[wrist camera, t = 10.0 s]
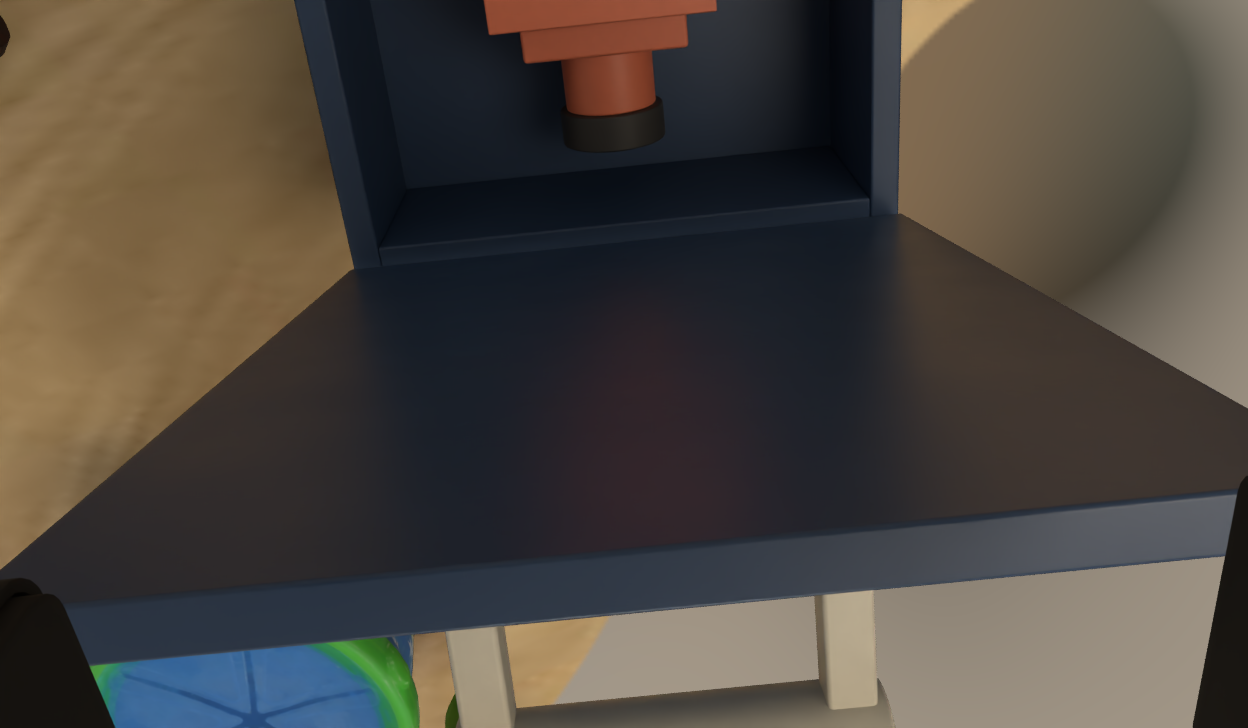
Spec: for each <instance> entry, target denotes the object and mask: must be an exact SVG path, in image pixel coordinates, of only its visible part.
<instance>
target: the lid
mask: <svg viewBox="0 0 1248 728" xmlns="http://www.w3.org/2000/svg"><path fill="white" fill-rule="evenodd" d="M1246 476H1248V408H1246V407H1244V406H1242V405H1240V404H1239V403H1236V402H1235V401H1233V400H1232V399H1230V398H1228V397H1226V396H1224V395H1223V394H1221V393H1219V392H1217V391H1215V390H1214V389H1212V388H1210V387H1208V386H1207V385H1205V384H1203V383H1201V382H1200V381H1198V380H1196V379H1194V378H1192V377H1191V376H1189V375H1187V374H1185V373H1184V372H1182V371H1180V370H1178V369H1176V368H1175V367H1173V366H1171V365H1169V364H1168V363H1166V362H1164V361H1162V360H1160V359H1158V358H1157V357H1155V356H1153V355H1151V354H1150V353H1148V352H1146V351H1144V350H1143V349H1140V348H1139V347H1137V346H1136V345H1134V344H1132V343H1130V342H1128V341H1127V340H1125V339H1123V338H1121V337H1120V336H1117V335H1116V334H1114V333H1112V332H1111V331H1109V330H1107V329H1105V328H1103V327H1102V326H1100V325H1098V324H1096V323H1094V322H1093V321H1091V320H1089V319H1088V318H1086V317H1084V316H1082V315H1080V314H1078V313H1077V312H1075V311H1073V310H1072V309H1069V308H1068V307H1066V306H1064V305H1063V304H1061V303H1059V302H1057V301H1056V300H1054V299H1052V298H1050V297H1048V296H1047V295H1045V294H1043V293H1041V292H1040V291H1038V290H1036V289H1034V288H1032V287H1031V286H1029V285H1027V284H1025V283H1024V282H1022V281H1020V280H1018V279H1016V278H1014V277H1013V276H1011V275H1009V274H1008V273H1006V272H1004V271H1002V270H1000V269H999V268H997V267H995V266H993V265H992V264H990V263H988V262H986V261H984V260H983V259H981V258H979V257H977V256H975V255H974V254H972V253H970V252H968V251H967V250H965V249H963V248H961V247H960V246H958V245H956V244H954V243H952V242H951V241H949V240H947V239H945V238H944V237H942V236H940V235H938V234H936V233H935V232H933V231H931V230H929V229H928V228H926V227H924V226H922V225H920V224H919V223H917V222H915V221H913V220H911V219H910V218H908V217H906V216H904V215H903V214H892V215H883V216H873V217H863V218H853V219H843V220H833V221H824V222H814V223H804V224H794V225H784V226H775V227H765V228H755V229H745V230H735V231H726V232H716V233H706V234H696V235H686V236H677V237H667V238H657V239H647V240H637V241H628V242H618V243H608V244H598V245H588V246H579V247H569V248H559V249H549V250H539V251H530V252H520V253H510V254H500V255H490V256H481V257H471V258H461V259H451V260H441V261H432V262H422V263H412V264H402V265H392V266H383V267H373V268H363V269H353V270H350V271H349V272H348V273H347V274H346V275H344V276H343V277H342V278H341V279H340V280H339V281H337V282H336V283H335V284H334V285H333V286H332V287H330V288H329V289H328V290H327V291H326V292H325V293H323V294H322V295H321V296H320V297H319V298H318V299H316V300H315V301H314V302H313V303H312V304H311V305H309V306H308V307H307V308H306V309H305V310H304V311H302V312H301V313H300V314H299V315H298V316H297V317H295V318H294V319H293V320H292V321H291V322H290V323H288V324H287V325H286V326H285V327H284V328H283V329H281V330H280V331H279V332H278V333H277V334H276V335H274V336H273V337H272V338H271V339H270V340H269V341H267V342H266V343H265V344H264V345H263V346H262V347H260V348H259V349H258V350H257V351H256V352H255V353H253V354H252V355H251V356H250V357H249V358H247V359H246V360H245V361H244V362H243V363H242V364H240V365H239V366H238V367H237V368H236V369H235V370H233V371H232V372H231V373H230V374H229V375H228V376H226V377H225V378H224V379H223V380H222V381H221V382H219V383H218V384H217V385H216V386H215V387H214V388H212V389H211V390H210V391H209V392H208V393H207V394H205V395H204V396H203V397H202V398H201V399H200V400H198V401H197V402H196V403H195V404H194V405H193V406H191V407H190V408H189V409H188V410H187V411H186V412H184V413H183V414H182V415H181V416H180V417H179V418H177V419H176V420H175V421H174V422H173V423H172V424H170V425H169V426H168V427H167V428H166V429H165V430H163V431H162V432H161V433H160V434H159V435H158V436H156V437H155V438H154V439H153V440H152V441H151V442H149V443H148V444H147V445H146V446H145V447H144V448H142V449H141V450H140V451H139V452H138V453H136V454H135V455H134V456H133V457H132V458H131V459H129V460H128V461H127V462H126V463H125V464H124V465H122V466H121V467H120V468H119V469H118V470H117V471H115V472H114V473H113V474H112V475H111V476H110V477H108V478H107V479H106V480H105V481H104V482H103V483H101V484H100V485H99V486H98V487H97V488H96V489H94V490H93V491H92V492H91V493H90V494H89V495H87V496H86V497H85V498H84V499H83V500H82V501H80V502H79V503H78V504H77V505H76V506H75V507H73V508H72V509H71V510H70V511H69V512H68V513H66V514H65V515H64V516H63V517H62V518H61V519H59V520H58V521H57V522H56V523H55V524H54V525H52V526H51V527H50V528H49V529H48V530H47V531H45V532H44V533H43V534H42V535H41V536H40V537H38V538H37V539H36V540H35V541H34V542H33V543H31V544H30V545H29V546H28V547H27V548H25V549H24V550H23V551H22V552H21V553H20V554H18V555H17V556H16V557H15V558H14V559H13V560H11V561H10V562H9V563H8V564H7V565H6V566H4V567H3V568H2V569H1V570H0V580H2V579H12V578H25V579H29V580H31V581H32V582H34V583H35V584H36V585H37V586H39V588H40V590H41V591H42V593H43V594H52V595H55V596H56V597H57V598H58V599H59V600H60V601H61V602H62V604H63V606H64V608H65V610H66V612H67V614H68V617H69V619H70V621H71V624H72V626H73V628H74V631H75V633H76V636H77V638H78V640H79V643H80V645H81V647H82V650H83V652H84V654H85V657H86V659H87V661H88V664H89V666H95V665H105V664H115V663H126V662H136V661H146V660H157V659H167V658H177V657H188V656H198V655H208V654H219V653H229V652H239V651H250V650H260V649H270V648H281V647H291V646H301V645H312V644H322V643H332V642H343V641H353V640H363V639H374V638H384V637H394V636H405V635H415V634H425V633H436V632H445V634H446V640H447V646H448V652H449V658H450V664H451V670H452V676H453V682H454V688H455V694H456V700H457V706H458V712H459V719H458V722H457V725H456V728H895V724H894V720H893V716H892V712H891V708H890V705H889V702H888V699H887V695H886V693H885V690H884V688H883V686H882V684H881V682H880V680H879V679H878V678H877V664H876V663H877V662H876V639H875V638H876V637H875V613H874V590H880V589H890V588H901V587H911V586H921V585H932V584H941V583H953V582H962V581H972V580H983V579H994V578H1004V577H1015V576H1025V575H1035V574H1046V573H1054V572H1055V573H1056V572H1066V571H1076V570H1087V569H1097V568H1107V567H1117V566H1128V565H1138V564H1149V563H1159V562H1169V561H1180V560H1190V559H1200V558H1210V557H1221V556H1225V555H1226V549H1227V544H1228V539H1229V534H1230V528H1231V523H1232V518H1233V513H1234V508H1235V502H1236V497H1237V492H1238V489H1239V486H1240V483H1241V482H1242V480H1243V479H1244V478H1245V477H1246ZM807 596H814V597H815V615H816V632H817V650H818V668H819V679H817V680H807V681H796V682H786V683H775V684H765V685H754V686H745V687H734V688H724V689H713V690H702V691H692V692H681V693H671V694H660V695H650V696H640V697H629V698H618V699H608V700H597V701H587V702H576V703H567V704H556V705H545V706H535V707H524V708H516V703H515V696H514V690H513V683H512V676H511V669H510V663H509V656H508V649H507V642H506V636H505V629H504V626H508V625H518V624H529V623H539V622H549V621H560V620H570V619H580V618H591V617H601V616H611V615H622V614H632V613H642V612H653V611H663V610H672V609H684V608H693V607H704V606H714V605H724V604H735V603H745V602H755V601H766V600H776V599H787V598H797V597H807Z"/></svg>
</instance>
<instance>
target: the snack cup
mask: <svg viewBox="0 0 1248 728" xmlns="http://www.w3.org/2000/svg"><path fill="white" fill-rule="evenodd" d="M413 649H414V635H405V636H394V637H384V638H374V639H363V640H353V641H343V642H332V643H322V644H312V645H301V646H291V647H281V648H270V649H260V650H250V651H239V652H229V653H219V654H208V655H198V656H188V657H177V658H167V659H157V660H146V661H136V662H126V663H115V664H105V665H95V666H90V669H91V671H92V673H93V676H94V678H95V680H96V683H97V685H98V687H99V690H100V692H101V694H102V697H103V699H104V702H105V704H106V706H107V709H108V711H109V713H110V716H111V718H112V720H113V723H114V725H115V727H116V728H419V721H420V712H419V704H418V695H417V691H416V687H415V684H414V681H413V679H412V669H413ZM458 719H459V712H458V706H457V700H456V694H455V695H454V696H453V699H452V701H451V703H450V705H449V707H448V710H447V713H446V720H445V728H456V725H457V722H458Z"/></svg>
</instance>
